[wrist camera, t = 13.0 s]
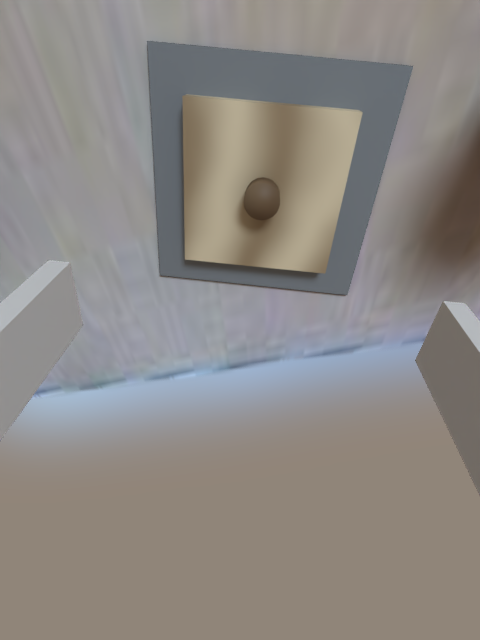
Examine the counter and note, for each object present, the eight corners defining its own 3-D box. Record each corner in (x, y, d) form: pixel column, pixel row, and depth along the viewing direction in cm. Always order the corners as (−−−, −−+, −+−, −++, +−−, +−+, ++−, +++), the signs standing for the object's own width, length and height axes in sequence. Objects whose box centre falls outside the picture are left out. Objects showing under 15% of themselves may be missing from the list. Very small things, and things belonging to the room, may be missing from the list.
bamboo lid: (188, 251, 30) (180, 268, 28) (186, 94, 24) (176, 98, 21) (323, 265, 30) (327, 283, 27) (358, 109, 23) (368, 115, 21)
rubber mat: (160, 273, 32) (160, 275, 31) (148, 41, 22) (147, 40, 22) (346, 293, 31) (347, 295, 31) (411, 66, 22) (413, 66, 22)
